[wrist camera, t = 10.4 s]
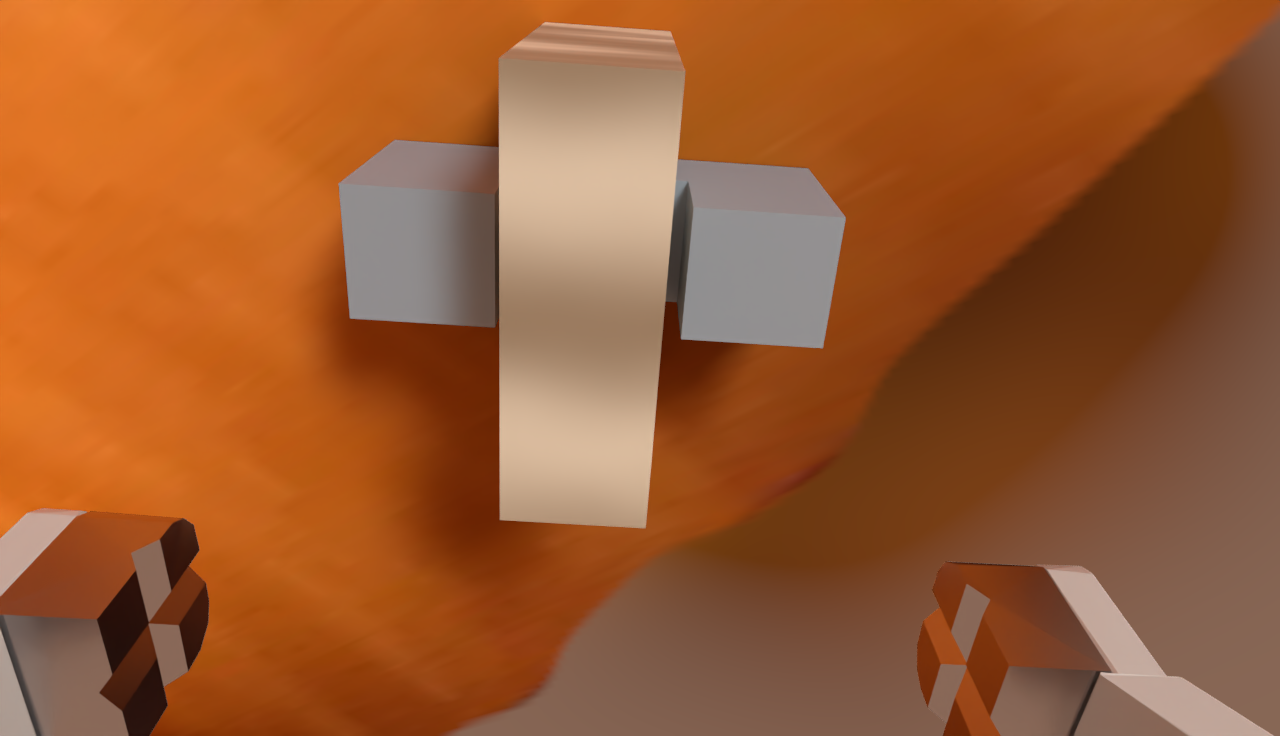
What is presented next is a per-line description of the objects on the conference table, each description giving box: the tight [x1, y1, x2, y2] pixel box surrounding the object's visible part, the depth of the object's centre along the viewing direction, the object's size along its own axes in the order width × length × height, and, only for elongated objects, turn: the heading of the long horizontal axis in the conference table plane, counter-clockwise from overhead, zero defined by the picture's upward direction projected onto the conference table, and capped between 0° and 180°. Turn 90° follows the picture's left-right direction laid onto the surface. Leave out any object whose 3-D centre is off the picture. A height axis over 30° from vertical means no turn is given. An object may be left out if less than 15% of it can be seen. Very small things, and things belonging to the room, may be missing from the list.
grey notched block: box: [339, 140, 846, 348], centre depth 28 cm, size 14×4×6 cm, turn 86°
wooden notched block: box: [499, 22, 685, 528], centre depth 26 cm, size 12×4×10 cm, turn 176°
